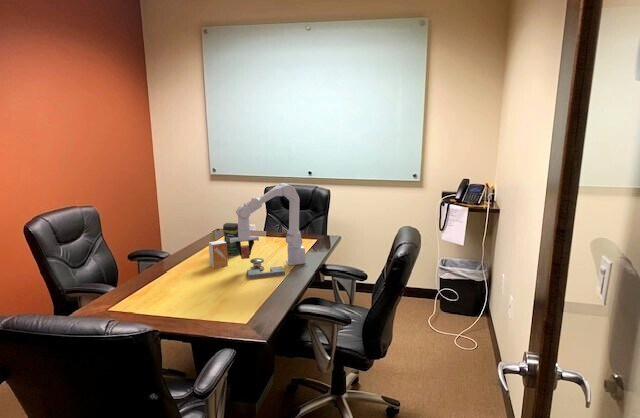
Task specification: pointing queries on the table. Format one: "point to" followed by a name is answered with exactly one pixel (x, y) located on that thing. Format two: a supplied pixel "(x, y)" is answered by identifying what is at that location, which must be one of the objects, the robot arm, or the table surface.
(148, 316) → the table surface
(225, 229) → the coffee jar
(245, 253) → the block
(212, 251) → the small box
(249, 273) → the notched board
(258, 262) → the bobbin
